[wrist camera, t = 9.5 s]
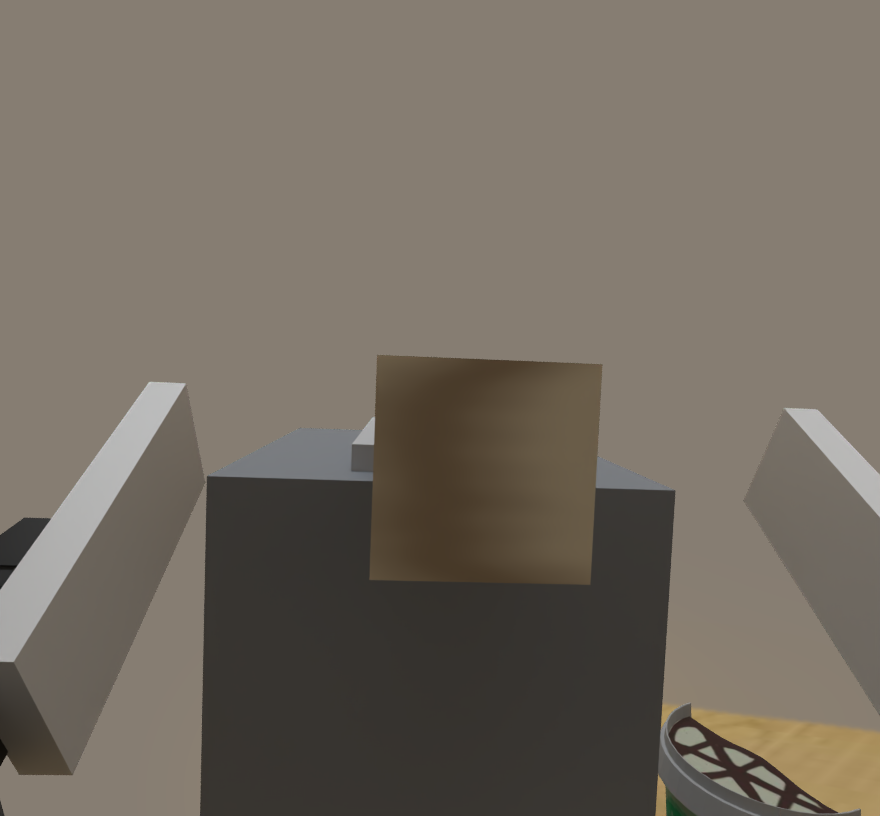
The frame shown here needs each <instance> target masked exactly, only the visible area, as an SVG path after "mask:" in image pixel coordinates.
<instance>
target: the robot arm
mask: <svg viewBox="0 0 880 816" xmlns="http://www.w3.org/2000/svg"><path fill="white" fill-rule="evenodd" d="M204 484H205V480H204V474H203V469H202V464H201V458H200V454H199V448H198V443H197V438H196V432H195V427H194V422H193V417H192V412H191V407H190V401H189V396H188V391H187V385H186V384H185V383H162V382H149V383H148V385H147V386H146V387H145V389H144V390H143V392H142V393H141V394H140V396H139V397H138V398H137V400H136V401H135V403H134V404H133V405H132V407H131V408H130V410H129V411H128V413H127V414H126V415H125V417H124V418H123V420H122V421H121V422H120V424H119V425H118V426H117V428H116V429H115V431H114V432H113V433H112V435H111V436H110V438H109V439H108V440H107V442H106V443H105V444H104V446H103V447H102V449H101V450H100V452H99V453H98V454H97V456H96V457H95V459H94V460H93V461H92V463H91V464H90V466H89V467H88V468H87V470H86V471H85V472H84V474H83V475H82V477H81V478H80V480H79V481H78V482H77V484H76V485H75V486H74V488H73V489H72V490H71V492H70V493H69V495H68V496H67V497H66V499H65V501H64V502H63V503H62V504H61V506H60V507H59V509H58V510H57V511H56V513H55V514H54V516H53V517H52V518H51V519H48V518H23V519H22V520H21V521H19V522H18V523H16V524H15V525H14V526H12V527H11V528H9V529H8V530H7V531H5V532H4V533H2V534H1V535H0V766H1V764H2V762H3V760H4V759H5V757H6V755H7V756H8V757H9V759H10V760H11V762H12V764H13V765H14V767H15V769H16V770H17V772H18V773H19V775H73V773H74V771H75V769H76V767H77V764H78V762H79V760H80V758H81V756H82V753H83V751H84V749H85V747H86V745H87V742H88V740H89V738H90V736H91V734H92V731H93V729H94V727H95V725H96V723H97V720H98V718H99V716H100V714H101V712H102V709H103V707H104V705H105V703H106V700H107V698H108V696H109V694H110V692H111V689H112V687H113V685H114V683H115V681H116V678H117V676H118V674H119V672H120V670H121V667H122V665H123V663H124V661H125V659H126V656H127V654H128V652H129V650H130V647H131V645H132V643H133V641H134V639H135V637H136V634H137V632H138V630H139V628H140V625H141V623H142V621H143V619H144V617H145V614H146V612H147V610H148V608H149V606H150V603H151V601H152V599H153V596H154V594H155V592H156V590H157V588H158V585H159V584H160V581H161V579H162V577H163V575H164V572H165V570H166V568H167V566H168V563H169V561H170V559H171V557H172V555H173V552H174V550H175V548H176V546H177V544H178V542H179V539H180V537H181V535H182V533H183V531H184V528H185V526H186V524H187V522H188V520H189V517H190V515H191V513H192V511H193V509H194V506H195V504H196V502H197V500H198V498H199V495H200V493H201V491H202V489H203V486H204ZM744 502H745V504H746V506H747V507H748V509H749V510H750V512H751V513H752V515H753V516H754V518H755V520H756V521H757V523H758V524H759V526H760V527H761V529H762V531H763V532H764V534H765V536H766V537H767V539H768V540H769V542H770V543H771V545H772V547H773V548H774V550H775V551H776V553H777V555H778V556H779V558H780V559H781V561H782V562H783V564H784V566H785V567H786V569H787V570H788V572H789V573H790V575H791V577H792V578H793V580H794V581H795V583H796V584H797V586H798V588H799V589H800V591H801V592H802V594H803V596H804V597H805V599H806V600H807V602H808V603H809V605H810V607H811V608H812V610H813V611H814V613H815V614H816V616H817V618H818V619H819V620H820V622H821V624H822V626H823V627H824V629H825V630H826V632H827V633H828V635H829V637H830V638H831V640H832V641H833V643H834V644H835V646H836V648H837V649H838V651H839V652H840V654H841V656H842V657H843V659H844V660H845V662H846V663H847V665H848V666H849V668H850V670H851V671H852V673H853V674H854V676H855V677H856V679H857V680H858V682H859V684H860V686H861V687H862V689H863V690H864V692H865V693H866V695H867V696H868V698H869V700H870V701H871V703H872V704H873V706H874V707H875V709H876V711H877V712H878V714H879V715H880V475H879V474H878V473H877V472H876V471H875V469H873V467H872V466H871V465H870V464H869V463H868V462H867V461H866V460H865V459H864V458H863V457H862V456H861V455H860V454H859V453H858V452H857V451H856V450H855V449H854V447H853V446H852V445H851V444H850V443H849V442H848V441H847V440H846V439H845V438H844V437H843V436H842V435H841V434H840V433H839V432H838V431H837V430H836V429H835V428H834V427H833V425H831V423H830V422H829V421H828V420H827V419H826V418H825V417H824V416H823V415H822V414H821V413H820V412H819V411H818V410H817V409H795V408H784V409H783V412H782V414H781V416H780V418H779V421H778V423H777V425H776V428H775V430H774V432H773V434H772V437H771V439H770V441H769V444H768V446H767V448H766V450H765V453H764V455H763V457H762V460H761V462H760V464H759V466H758V469H757V471H756V473H755V475H754V478H753V480H752V482H751V485H750V487H749V489H748V491H747V494H746V496H745V498H744ZM0 816H4V813H3V809H2V805H1V802H0Z"/></svg>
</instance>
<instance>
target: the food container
mask: <svg viewBox="0 0 880 816" xmlns="http://www.w3.org/2000/svg"><path fill="white" fill-rule="evenodd" d="M658 774H659V776H660V778H661V779H662V781H663V782H664V784H665V786H666V816H861V809H856V810H853V811H849V812H843V813H838V812H836V811H834V810H832V809H831V808H829V807H827V806H825V805H824V804H822V803H821V802H819V801H818V800H816V799H815V798H813V797H812V796H810V795H809V794H807V793H806V792H804V791H803V790H802V789H800V788H799V787H798V786H797V785H795V784H794V783H793V782H792V781H791V780H789V779H788V778H787V777H786V776H785V775H783V774H782V773H781V772H780V771H779V770H777V769H776V768H775V767H774V766H772V765H771V764H770V763H768V762H767V761H766V760H764V759H763V758H761V757H760V756H758V755H756V754H754V753H752V752H750V751H748V750H746V749H744V748H742V747H740V746H737V745H735V744H733V743H731V742H729V741H727V740H725V739H723V738H722V737H720V736H718V735H717V734H715V733H714V732H712V731H710V730H709V729H707V728H706V727H704V726H703V725H701V724H700V723H698V722H697V721H695V720H694V719H692V718H691V703H687V704H684V705H682V706H680V707H678V708H676V709H675V710H674V711H673V712H672V713H671V714H670V715H669V717H668V719H667V721H666V722H665V723H664V725H663V727H662V729H661V732H660V748H659V764H658Z"/></svg>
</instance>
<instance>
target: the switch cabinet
mask: <svg viewBox="0 0 880 816" xmlns="http://www.w3.org/2000/svg"><path fill="white" fill-rule="evenodd" d="M374 433H375V417H373V418H372V419H371V420H370V421H369V423H368V424H367V425H366V427H365V428H364V429H363V430H340V429H312V428H311V429H310V428H299V429H297V430H295V431H293V432H291V433H289V434H287V435H286V436H284V437H282V438H280V439H278V440H276V441H274V442H272V443H270V444H268V445H266V446H264V447H262V448H261V449H258V450H257V451H255V452H253V453H251V454H249V455H247V456H245V457H243V458H241V459H239V460H237V461H235V462H233V463H232V464H230V465H228V466H226V467H224V468H222V469H220V470H218V471H216V472H214V473H212V474H210V475H208V476H207V501H206V502H207V503H206V505H207V506H206V552H205V554H206V555H205V603H204V655H203V702H202V704H203V706H202V754H201V756H202V757H201V803H200V804H201V806H200V816H655V813H656V797H657V780H658V764H659V748H660V732H661V715H662V699H663V683H664V666H665V650H666V633H667V618H668V602H669V585H670V584H669V583H670V569H671V553H672V536H673V519H674V504H675V490H673V489H671V488H669V487H666V486H664V485H662V484H659V483H657V482H655V481H652V480H650V479H648V478H646V477H643V476H641V475H639V474H637V473H634V472H632V471H630V470H628V469H625V468H623V467H621V466H618V465H616V464H614V463H612V462H609V461H607V460H605V459H603V458H600V457H598V456H597V472H596V490H595V508H594V527H593V545H592V563H591V582H590V585H578V584H532V583H486V582H441V581H395V580H369V577H370V548H371V519H372V490H373V461H374Z"/></svg>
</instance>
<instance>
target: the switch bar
mask: <svg viewBox="0 0 880 816" xmlns="http://www.w3.org/2000/svg"><path fill="white" fill-rule="evenodd" d="M601 380H602V364H581V363H580V364H579V363H557V362H533V361H509V360H484V359H461V358H437V357H414V356H413V357H412V356H390V355H377V376H376V404H375V433H374V461H373V490H372V519H371V548H370V577H369V580H395V581H441V582H486V583H532V584H578V585H590V582H591V563H592V545H593V527H594V508H595V490H596V472H597V452H598V434H599V416H600V398H601Z"/></svg>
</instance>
